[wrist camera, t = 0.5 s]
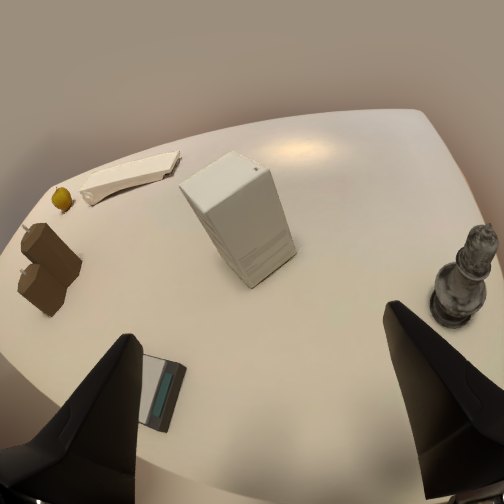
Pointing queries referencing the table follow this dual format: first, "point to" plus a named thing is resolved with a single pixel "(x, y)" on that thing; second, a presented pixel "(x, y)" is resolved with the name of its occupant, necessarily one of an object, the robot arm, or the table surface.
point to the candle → (47, 268)
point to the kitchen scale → (159, 391)
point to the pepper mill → (464, 279)
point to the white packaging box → (241, 215)
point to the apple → (62, 199)
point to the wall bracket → (127, 176)
